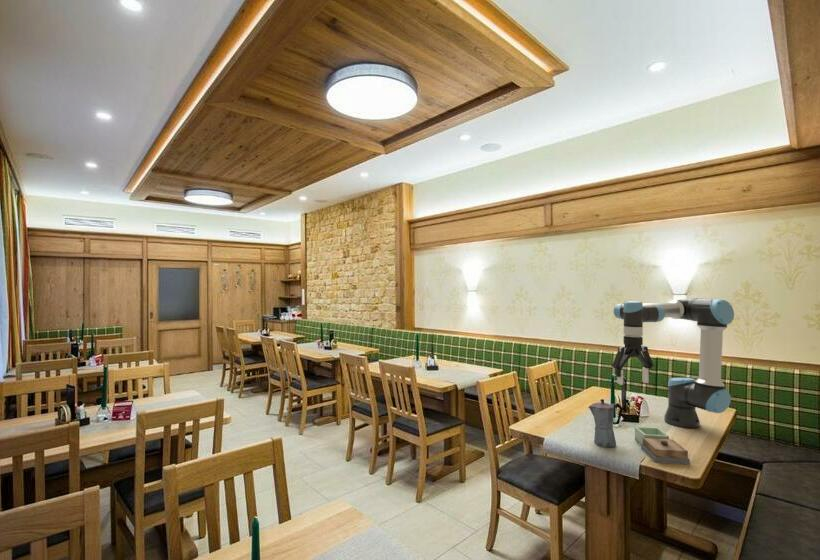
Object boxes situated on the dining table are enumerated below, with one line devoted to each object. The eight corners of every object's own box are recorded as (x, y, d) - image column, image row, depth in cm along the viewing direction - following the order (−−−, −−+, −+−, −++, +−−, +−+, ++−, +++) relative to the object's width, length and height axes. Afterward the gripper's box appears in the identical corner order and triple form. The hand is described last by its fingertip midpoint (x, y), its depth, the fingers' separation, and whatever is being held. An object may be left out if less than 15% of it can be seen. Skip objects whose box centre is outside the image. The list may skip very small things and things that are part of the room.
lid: (672, 446, 172) (672, 436, 172) (687, 458, 160) (687, 447, 160) (642, 444, 174) (642, 434, 174) (655, 456, 162) (655, 445, 162)
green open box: (658, 440, 183) (658, 427, 183) (669, 450, 173) (669, 436, 173) (634, 439, 184) (634, 426, 184) (644, 448, 174) (644, 434, 174)
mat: (673, 450, 172) (673, 446, 172) (689, 464, 159) (689, 459, 159) (641, 448, 174) (641, 444, 174) (654, 462, 161) (654, 457, 161)
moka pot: (583, 440, 184) (583, 396, 184) (615, 439, 185) (615, 395, 185) (594, 448, 174) (594, 402, 174) (628, 447, 175) (628, 402, 176)
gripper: (649, 334, 186) (648, 379, 186) (603, 335, 180) (603, 382, 180) (662, 336, 179) (662, 383, 179) (615, 337, 173) (615, 387, 172)
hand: (632, 383), depth 179 cm, fingers open, 13 cm apart
